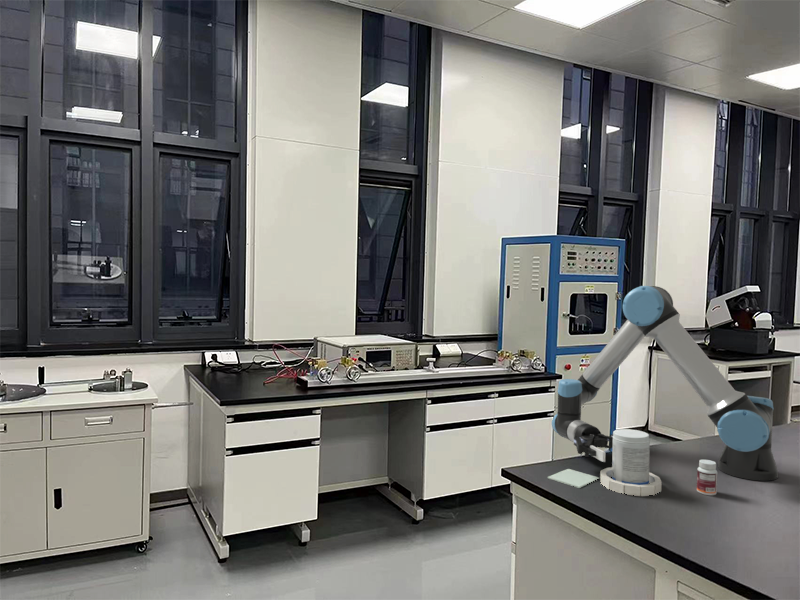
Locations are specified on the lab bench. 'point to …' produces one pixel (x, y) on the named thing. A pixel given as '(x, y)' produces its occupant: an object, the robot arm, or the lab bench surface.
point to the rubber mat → (573, 478)
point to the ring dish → (630, 488)
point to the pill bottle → (707, 477)
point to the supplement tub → (630, 456)
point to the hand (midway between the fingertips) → (625, 455)
